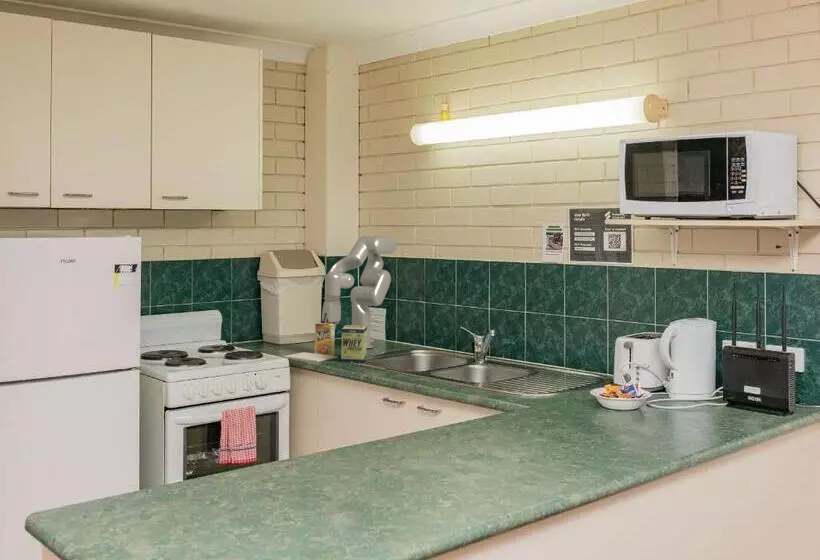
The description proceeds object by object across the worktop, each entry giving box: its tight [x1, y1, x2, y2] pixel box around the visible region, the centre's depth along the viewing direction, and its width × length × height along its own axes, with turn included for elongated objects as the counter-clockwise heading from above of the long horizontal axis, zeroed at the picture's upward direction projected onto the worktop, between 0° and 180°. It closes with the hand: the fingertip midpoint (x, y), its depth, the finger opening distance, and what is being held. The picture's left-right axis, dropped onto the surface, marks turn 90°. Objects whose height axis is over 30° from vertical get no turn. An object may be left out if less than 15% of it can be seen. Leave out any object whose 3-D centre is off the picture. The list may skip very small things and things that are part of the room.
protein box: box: [340, 324, 367, 363], centre depth 425 cm, size 10×16×16 cm
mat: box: [282, 351, 338, 363], centre depth 428 cm, size 16×20×1 cm
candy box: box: [314, 322, 336, 356], centre depth 437 cm, size 9×4×15 cm, turn 70°
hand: (331, 336), depth 442 cm, fingers closed
